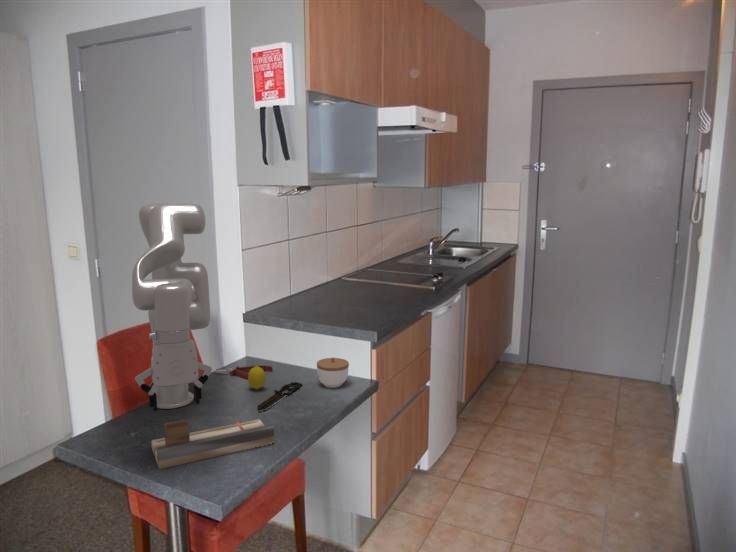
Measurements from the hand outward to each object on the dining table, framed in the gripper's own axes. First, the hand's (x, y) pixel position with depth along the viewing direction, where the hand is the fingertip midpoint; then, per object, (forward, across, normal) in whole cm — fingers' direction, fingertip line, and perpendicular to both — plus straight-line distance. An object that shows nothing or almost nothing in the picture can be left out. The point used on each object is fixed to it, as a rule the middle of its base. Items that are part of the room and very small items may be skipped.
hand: (176, 405), depth 130 cm
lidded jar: (+12, +55, +29) cm, 63 cm away
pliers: (+13, +33, +53) cm, 64 cm away
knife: (+13, +35, +26) cm, 45 cm away
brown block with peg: (+11, 0, +3) cm, 11 cm away
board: (+13, +9, +3) cm, 16 cm away
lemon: (+12, +31, +36) cm, 49 cm away
